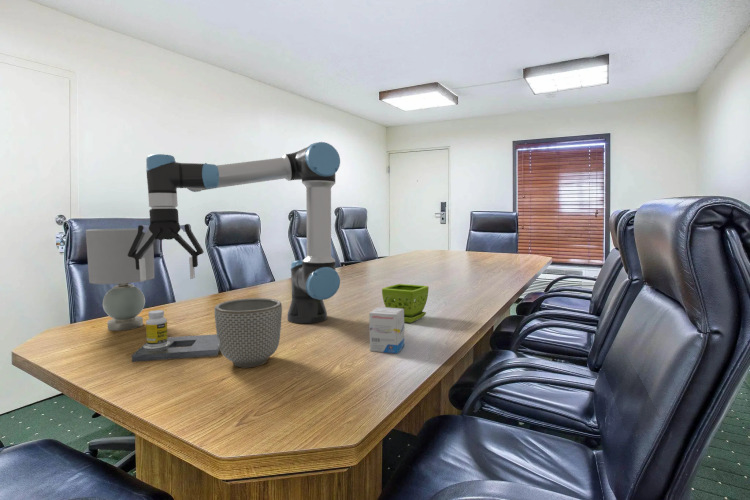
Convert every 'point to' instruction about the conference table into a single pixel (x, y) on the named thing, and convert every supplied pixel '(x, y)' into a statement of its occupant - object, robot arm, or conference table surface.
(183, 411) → the conference table surface
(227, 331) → the planter
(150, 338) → the supplement bottle
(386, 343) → the ink box
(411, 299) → the flower pot
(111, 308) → the lamp
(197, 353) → the housing plate
